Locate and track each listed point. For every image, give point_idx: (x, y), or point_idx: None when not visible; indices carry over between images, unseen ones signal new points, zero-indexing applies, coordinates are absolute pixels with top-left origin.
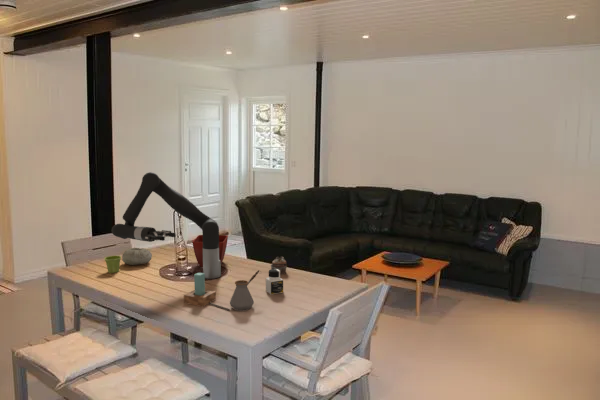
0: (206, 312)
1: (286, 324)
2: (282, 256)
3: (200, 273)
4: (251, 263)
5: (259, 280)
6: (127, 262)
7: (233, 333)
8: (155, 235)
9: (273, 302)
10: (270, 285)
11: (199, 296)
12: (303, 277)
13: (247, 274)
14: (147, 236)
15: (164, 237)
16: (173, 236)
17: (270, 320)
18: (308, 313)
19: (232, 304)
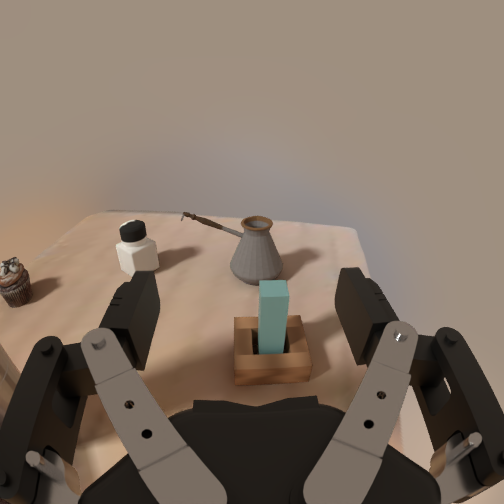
0: (320, 307)
1: (278, 222)
2: (2, 261)
3: (267, 288)
4: None
5: (65, 311)
6: None
7: (351, 247)
8: (413, 344)
9: (201, 253)
10: (155, 250)
11: (293, 327)
12: (52, 262)
13: (19, 346)
14: (495, 421)
15: (340, 276)
16: (155, 312)
17: (279, 235)
18: (227, 218)
19: (281, 266)
